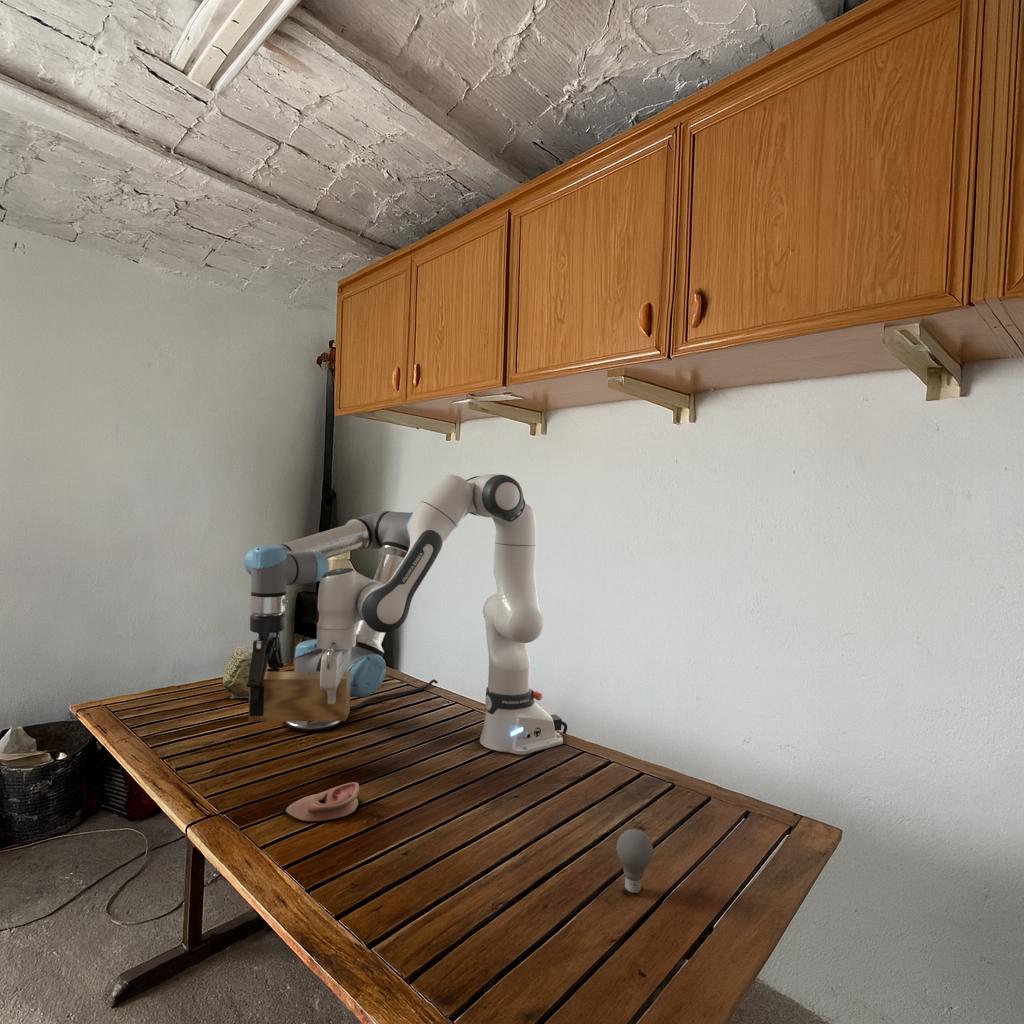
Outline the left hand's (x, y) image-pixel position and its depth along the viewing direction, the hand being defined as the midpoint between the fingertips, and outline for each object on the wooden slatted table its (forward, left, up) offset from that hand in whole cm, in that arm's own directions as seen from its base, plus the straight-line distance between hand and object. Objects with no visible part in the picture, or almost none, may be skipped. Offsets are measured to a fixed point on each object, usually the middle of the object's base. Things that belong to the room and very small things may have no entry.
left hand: (265, 705), depth 146 cm
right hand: (-11, +11, +2) cm, 16 cm away
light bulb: (-17, +86, -15) cm, 89 cm away
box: (-6, +6, -2) cm, 8 cm away
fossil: (-26, -51, -15) cm, 59 cm away
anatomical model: (+2, +26, -15) cm, 30 cm away
